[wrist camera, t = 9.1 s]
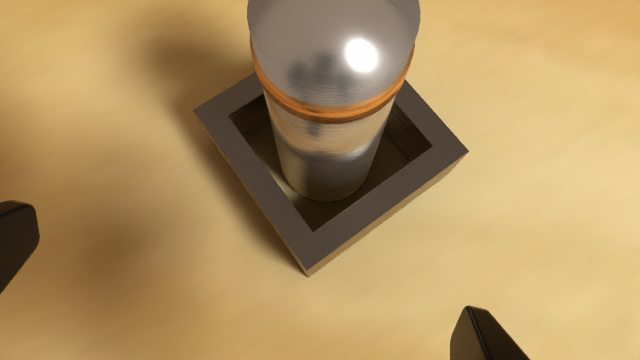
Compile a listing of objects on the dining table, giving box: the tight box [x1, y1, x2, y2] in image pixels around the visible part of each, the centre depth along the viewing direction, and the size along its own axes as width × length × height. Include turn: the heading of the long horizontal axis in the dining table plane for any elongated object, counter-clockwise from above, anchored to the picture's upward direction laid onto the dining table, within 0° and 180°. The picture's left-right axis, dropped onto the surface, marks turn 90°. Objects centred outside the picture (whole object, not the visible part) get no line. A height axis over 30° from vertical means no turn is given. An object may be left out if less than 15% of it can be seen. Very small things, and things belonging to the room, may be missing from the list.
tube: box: [247, 0, 420, 202], centre depth 18 cm, size 5×5×12 cm
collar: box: [193, 72, 469, 277], centre depth 22 cm, size 9×9×4 cm
